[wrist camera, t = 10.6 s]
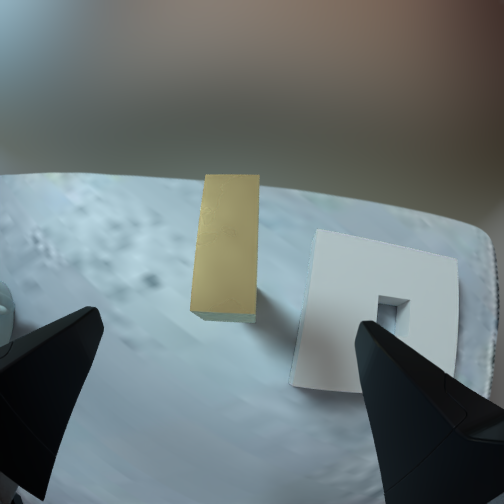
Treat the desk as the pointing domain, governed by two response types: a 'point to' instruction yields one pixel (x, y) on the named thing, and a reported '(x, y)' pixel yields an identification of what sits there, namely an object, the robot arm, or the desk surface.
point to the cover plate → (371, 306)
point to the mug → (6, 314)
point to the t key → (227, 250)
